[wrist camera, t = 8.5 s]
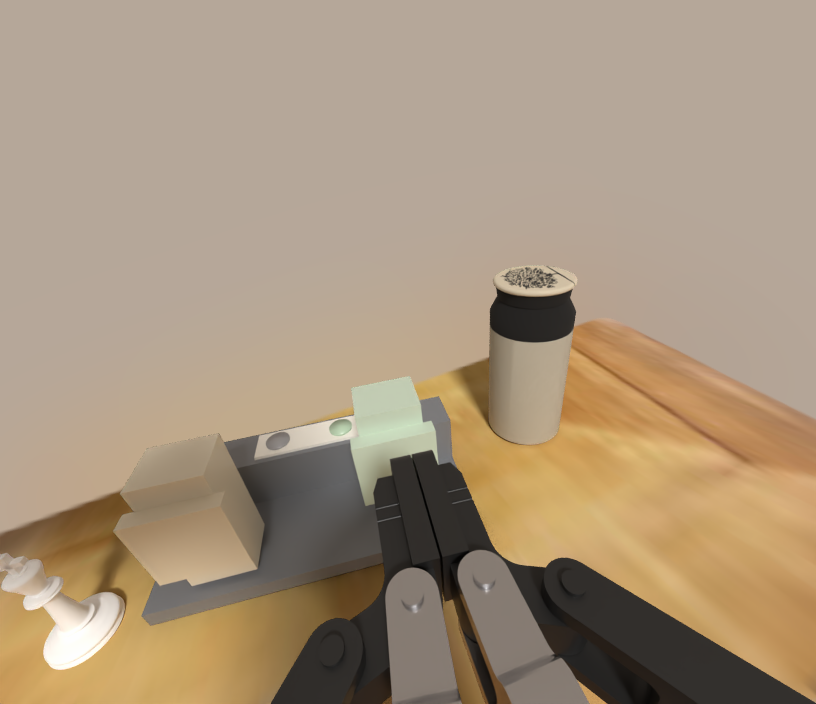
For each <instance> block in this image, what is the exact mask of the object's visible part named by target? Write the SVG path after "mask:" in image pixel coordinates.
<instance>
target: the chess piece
mask: <svg viewBox="0 0 816 704" xmlns="http://www.w3.org/2000/svg"><path fill="white" fill-rule="evenodd" d="M5 570H6V571H7V572H8V574H7V575H6V577H5V578H4V580H3V582H2V584H1V588H2V589H3V590H4V591H6V592H11V593H19V594H22V595H26V596H25V598H24V600H23V605H24V608H25V609H26V610H34V609H37V608H40V607H42V606H43V607H44V608H45V609H46V611H47V612H48V613H49V614H50V616H51V617H52V618H53V620H54V621H55V622H56V625H55V626H54V628H53V629H52V631H51V632H50V634H49V636H48V638H47V640H46V642H45V646H44V651H43V654H44V658H45V660H46V662H47V663H48V664H49V666H50V667H52V668H54V669H57V670H63V669H68V668H71V667H74V666H76V665H78V664H80V663H82V662H84V661H85V660H87V659H88V658H90V657H91V656H93V655H94V654H95V653H96V652H97V651H99V650H100V649H101V648H102V647H103V646H104V645H105V644H106V643H107V642H108V640H109V639H110V638H111V637H112V636H113V634H114V633H115V631H116V630H117V628H118V627H119V625H120V623H121V621H122V618H123V615H124V611H125V603H124V600H123V599H122V598H121V597H120V596H118V595H116V594H115V593H112V592H102V593H98V594H95V595H92V596H90V597H88V598H86V599H84V600H83V601H81V602H80V603H79V602H77V601H75V600H73V599H71V598H69V597H68V596H66V595H64V594H63V593H61V592H59V591H60V590H61V588H62V586H63V579H62V578H61V577H58V576H52V577H48V578H46V575H45V572H44V567H43V564H42V562H41V560H39V559H31V560H29V559H27V558H26V557H25V556H21V557H17V558H13V557H11V556H10V555H9V554H8V553H4V554H0V572H1V571H5Z"/></svg>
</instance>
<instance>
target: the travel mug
mask: <svg viewBox="0 0 816 704" xmlns="http://www.w3.org/2000/svg"><path fill="white" fill-rule="evenodd" d="M493 283H494V286H495V287H496V289H497V297H496V299H495V301H494V303H493V304H492V306H491V308H490V351H489V424H490V426H491V428H492V429H493V431H494V432H495V433H496V434H498V435H499V436H500V437H502V438H504V439H506V440H508V441H510V442H514V443H517V444H524V445H534V444H540V443H544V442H546V441H548V440H550V439H552V438H553V437H554V436H555V435H556V434H557V432H558V429H559V423H560V416H561V410H562V403H563V396H564V389H565V383H566V376H567V369H568V362H569V356H570V349H571V342H572V335H573V329H574V321H575V315H576V310H575V308H574V305H573V303H572V301H571V299H570V296H571V292H572V290H573V288H574V287H575V286H576V285H577V277H576V276H575V275H574V274H573V273H571V272H570V271H567V270H564V269H561V268H556V267H551V266H520V267H514V268H510V269H506V270H504V271H502V272H499V273H498V274H497V275H496V276H495V277H494V279H493Z"/></svg>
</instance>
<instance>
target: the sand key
mask: <svg viewBox="0 0 816 704" xmlns="http://www.w3.org/2000/svg"><path fill="white" fill-rule="evenodd" d="M120 495H121V496H122V497H123V499H124V500H125V501H126V503H127V504H128V505H129V506H130V508H131V509H132V510H133V511H134V512H131V513H127V514H123V515H122V516H121V518H120V520H119V521H118V523H117V525H116V527H115V529H114V530H113V532H114V533H115V535H116V536H117V537H118V538H119V539H120V540H121V541H122V543H123V544H124V545H125V546H126V547H127V548H128V550H129V551H130V552H131V553H132V554H133V555H134V556H135V558H136V559H137V560H138V561H139V562H140V563H141V565H142V566H143V567H144V568H145V569H146V570H147V571H148V573H149V574H150V575H151V576H152V577H153V578H154V580H155V581H156V582H157V583H158V584H159V585H160V586H161V585H165V584H169V583H173V582H177V581H181V580H184V579H187V581H188V582H189V583H190V584H191V586H195V585H198V584H202V583H206V582H210V581H214V580H218V579H222V578H225V577H229V576H233V575H237V574H241V573H245V572H248V571H252V570H256V569H258V563H259V557H260V551H261V544H262V538H263V532H264V526H265V524H264V522H263V520H262V518H261V516H260V514H259V512H258V510H257V508H256V506H255V504H254V502H253V500H252V498H251V496H250V494H249V492H248V490H247V488H246V486H245V484H244V482H243V480H242V478H241V476H240V474H239V472H238V470H237V468H236V466H235V464H234V462H233V460H232V458H231V456H230V454H229V452H228V450H227V448H226V446H225V444H224V442H223V440H222V438H221V436H220V434H219V433H218V434H213V435H208V436H204V437H199V438H194V439H189V440H185V441H180V442H175V443H171V444H166V445H161V446H156V447H152V448H147V449H146V451H145V453H144V455H143V456H142V458H141V459H140V461H139V463H138V464H137V466H136V468H135V469H134V471H133V473H132V474H131V476H130V478H129V479H128V481H127V483H126V484H125V486H124V487H123V489H122V491H121V492H120Z"/></svg>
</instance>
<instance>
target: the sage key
mask: <svg viewBox="0 0 816 704" xmlns="http://www.w3.org/2000/svg"><path fill="white" fill-rule="evenodd" d="M351 389H352V397H353V407H354V415H355V421H356V425H357V430H358V434H359V437H356V438H351V439H350V444H351V452H352V456H353V460H354V464H355V468H356V471H357V475H358V479H359V483H360V487H361V491H362V495H363V499H364V503H365V506H368V505H372V504H375V502H374V495H373V492H374V488H375V485H376V482H377V479H378V478H382V477H387V476H391V475H392V472H391V465H390V459H392V458H397V457H401V456H406V455H412V454H415V453H419V452H424V451H428V450H432V451H433V452H434V455H435V458H436V460H437V463H438V453H437V441H436V431H435V428H434V426H433V423H432V421H428V422H423V420H422V411H421V404H420V401H419V398H418V396H417V393H416V391H415V388H414V386H413V383H412V380H411V378H410V376H408V377H403V378H398V379H393V380H388V381H383V382H378V383H373V384H368V385H363V386H359V387H354V388H351ZM411 458H412V457H411Z"/></svg>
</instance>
